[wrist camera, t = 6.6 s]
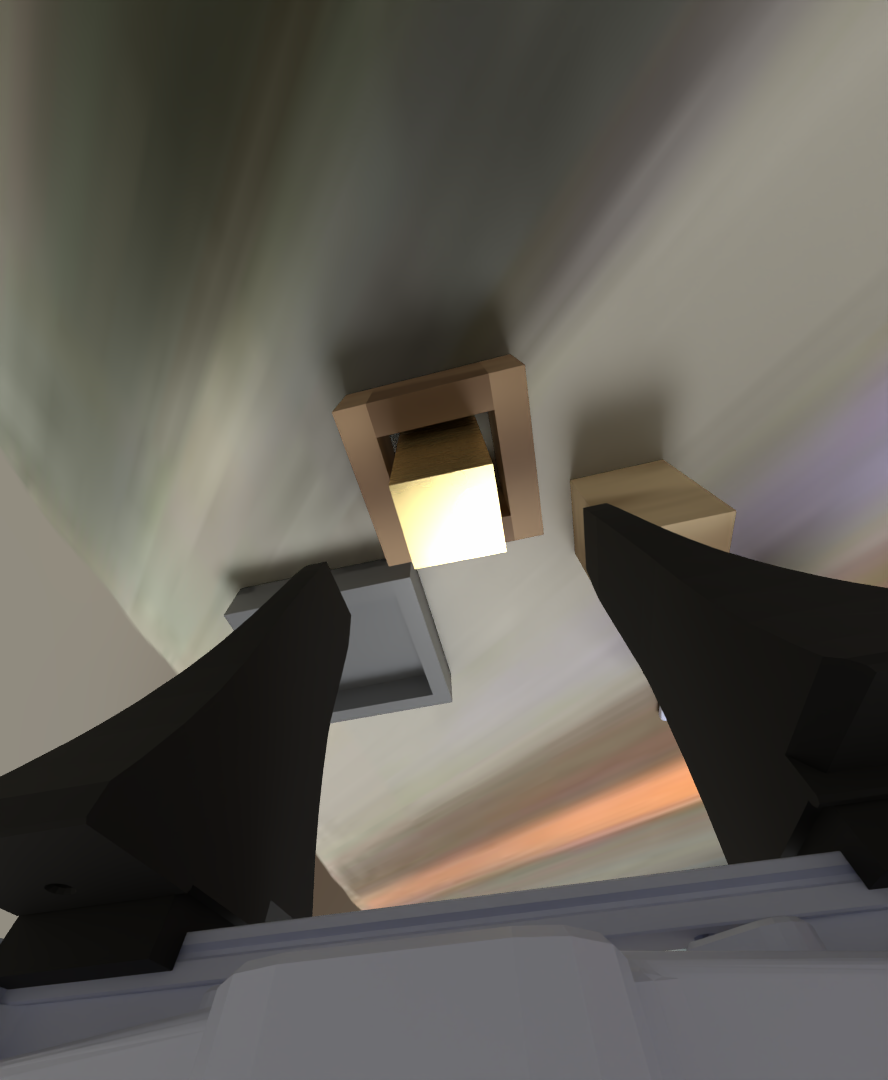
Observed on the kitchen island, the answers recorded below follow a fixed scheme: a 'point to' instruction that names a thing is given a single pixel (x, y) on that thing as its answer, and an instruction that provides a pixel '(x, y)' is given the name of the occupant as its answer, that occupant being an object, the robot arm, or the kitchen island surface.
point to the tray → (377, 640)
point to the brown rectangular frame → (433, 402)
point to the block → (655, 503)
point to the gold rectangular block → (446, 493)
